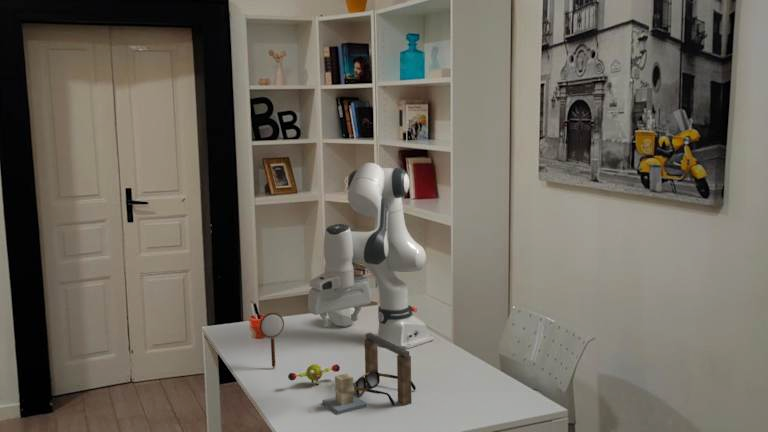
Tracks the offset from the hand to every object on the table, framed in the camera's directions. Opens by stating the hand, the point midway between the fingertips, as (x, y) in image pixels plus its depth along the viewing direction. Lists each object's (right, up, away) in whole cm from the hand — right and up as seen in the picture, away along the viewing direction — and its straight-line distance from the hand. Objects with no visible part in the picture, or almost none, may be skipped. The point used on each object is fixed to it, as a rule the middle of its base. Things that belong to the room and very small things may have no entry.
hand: (340, 323), depth 229 cm
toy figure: (-10, -23, +18) cm, 31 cm away
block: (+1, -24, +1) cm, 24 cm away
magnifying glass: (-25, -21, +34) cm, 47 cm away
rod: (+14, -9, +8) cm, 18 cm away
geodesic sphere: (-4, -13, +83) cm, 84 cm away
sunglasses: (+13, -24, +9) cm, 29 cm away
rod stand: (+14, -24, +10) cm, 29 cm away
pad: (+1, -25, +1) cm, 25 cm away
